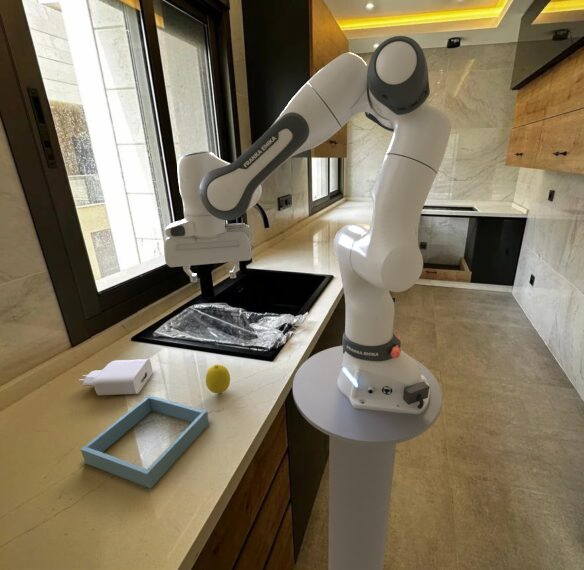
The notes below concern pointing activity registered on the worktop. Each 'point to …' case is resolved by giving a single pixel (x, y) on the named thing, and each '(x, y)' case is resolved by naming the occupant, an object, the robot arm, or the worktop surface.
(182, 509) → the worktop surface
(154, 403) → the blue bin
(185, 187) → the robot arm
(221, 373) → the lemon
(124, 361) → the charger
